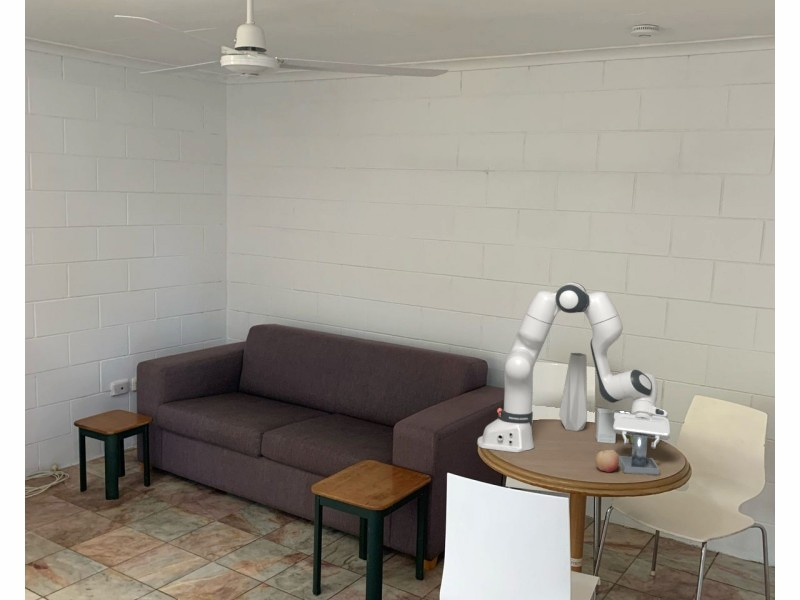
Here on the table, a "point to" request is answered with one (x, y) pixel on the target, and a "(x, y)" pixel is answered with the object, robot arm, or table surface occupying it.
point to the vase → (575, 394)
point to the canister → (639, 450)
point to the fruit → (607, 460)
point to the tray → (649, 469)
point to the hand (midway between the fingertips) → (639, 445)
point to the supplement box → (605, 426)
